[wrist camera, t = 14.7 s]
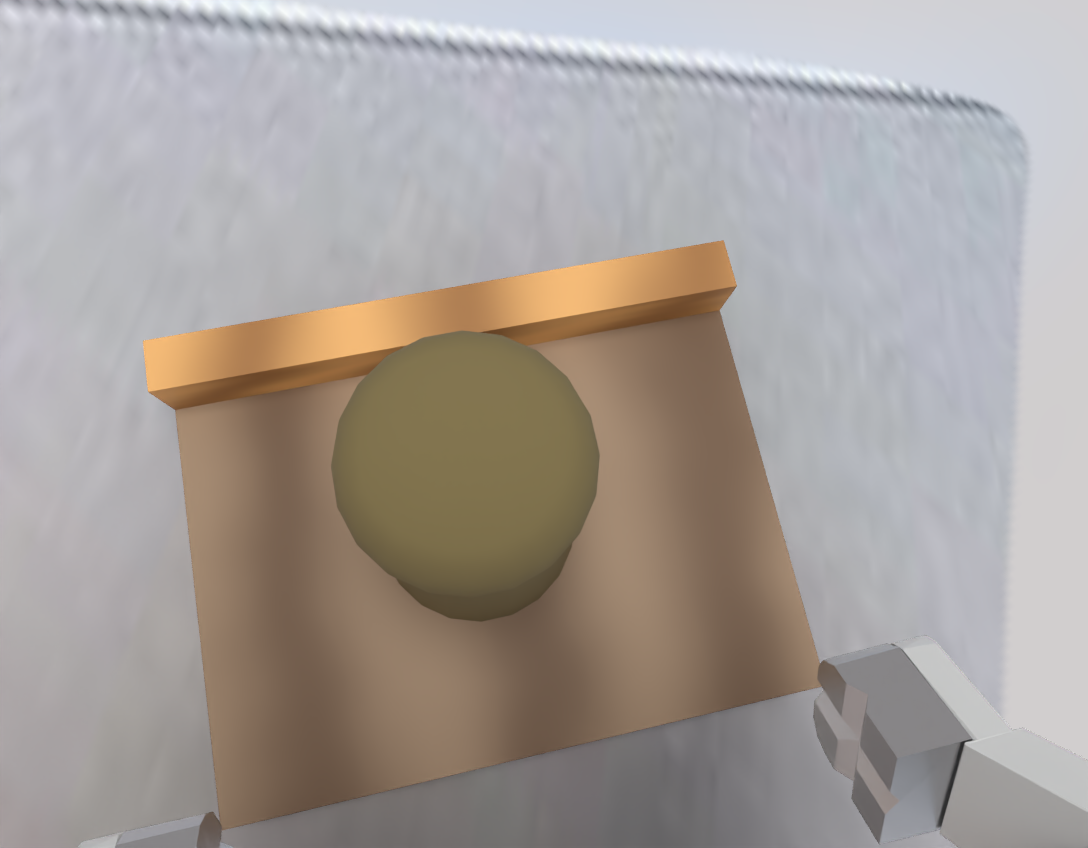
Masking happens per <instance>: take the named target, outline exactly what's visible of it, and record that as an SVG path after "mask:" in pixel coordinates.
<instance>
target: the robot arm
mask: <svg viewBox="0 0 1088 848" xmlns="http://www.w3.org/2000/svg"><path fill="white" fill-rule="evenodd" d="M817 680H818V681H819V683H820V684H821V686H822V688H823V689H824V690H823V691H822V692H821V694H820V695H819V696H818V697H817V698H816V699H815V701H814V715H813V718H814V722H815V727H816V731H817V736H818V739H819V741H820V743H821V746H822V748H823V750H824V753H825V754H826V756H827V758H828V760H829V761H830V763H831V765H832V767H833V768H834V769H835V770H836V771H838V772H840V773H841V774H843V775H844V776H846V777H848V778H849V779H851V780H853V790H852V800H853V802H854V804H855V805H856V807H857V809H858V810H859V812H860V814H861V815H862V817H863V819H864V820H865V822H866V824H867V825H868V827H869V829H870V830H871V832H872V834H873V835H874V837H875V839H876V840H877V842H878V844H879V845H880V844H884V843H888V842H892V841H896V840H900V839H904V838H909V837H913V836H917V835H921V834H925V833H929V832H933V831H937V830H940V834H941V835H942V836H944V837H945V838H946V839H948V840H949V841H950V842H952V843H953V844H955V845H956V846H957V847H959V848H1088V760H1087V759H1085V758H1082V757H1081V756H1078V755H1076V754H1075V753H1072V752H1071V751H1069V750H1067V749H1065V748H1063V747H1061V746H1058V745H1057V744H1055V743H1053V742H1051V741H1049V740H1047V739H1045V738H1043V737H1041V736H1039V735H1037V734H1035V733H1033V732H1031V731H1029V730H1027V729H1025V728H1019V729H1014V730H1012V729H1011V728H1010V726H1009V725H1008V724H1007V723H1006V722H1005V721H1004V719H1003V718H1002V717H1001V716H1000V715H999V714H998V713H997V711H996V710H995V709H994V708H993V707H992V706H991V704H990V703H989V702H988V701H987V700H986V699H985V698H984V696H983V695H982V694H981V693H980V692H979V691H978V689H977V688H976V687H975V686H974V685H973V684H972V683H971V681H970V680H969V679H968V678H967V677H966V676H965V675H964V673H963V672H962V671H961V670H960V669H959V668H958V666H957V665H956V664H955V663H954V662H953V661H952V660H951V658H950V657H949V656H948V655H947V654H946V653H945V651H944V650H943V649H942V648H941V647H940V646H939V645H938V643H937V642H936V641H935V640H934V639H932V638H930V637H928V636H927V635H924V636H918V637H914V638H910V639H907V640H903V641H899V642H895V643H892V644H887V643H886V644H883V645H879V646H875V647H871V648H867V649H864V650H860V651H856V652H852V653H848V654H845V655H841V656H837V657H833V658H830V659H826V660H823V661H822V663H821V664H820V665H819V668H818V675H817ZM221 832H222V825H221V824H220V822H219V820H218V819H217V817H216V816H215V814H214V812H209V813H205V814H200V815H196V816H191V817H187V818H182V819H178V820H174V821H169V822H165V823H160V824H156V825H151V826H147V827H143V828H138V829H134V830H129V831H124V832H120V833H115V834H111V835H107V836H103V837H99V838H95V839H91V840H87V841H82V842H81V844H80V845H79V847H78V848H234V847H232V846H230V845H227V844H225V843H222V842H220V839H221Z"/></svg>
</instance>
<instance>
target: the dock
mask: <svg viewBox="0 0 1088 848" xmlns="http://www.w3.org/2000/svg"><path fill="white" fill-rule="evenodd" d="M736 286H737V285H736V281H735V278H734V274H733V271H732V267H731V264H730V261H729V257H728V254H727V250H726V247H725V243H724V240H723V241H717V242H711V243H705V244H700V245H694V246H688V247H682V248H676V249H671V250H665V251H659V252H653V253H648V254H642V255H636V256H630V257H624V258H619V259H613V260H607V261H601V262H596V263H590V264H584V265H578V266H572V267H567V268H561V269H555V270H549V271H543V272H538V273H532V274H526V275H520V276H515V277H509V278H503V279H497V280H491V281H486V282H480V283H474V284H468V285H463V286H457V287H451V288H445V289H439V290H434V291H428V292H422V293H416V294H411V295H405V296H399V297H393V298H387V299H382V300H376V301H370V302H364V303H359V304H353V305H347V306H341V307H335V308H330V309H324V310H318V311H312V312H307V313H301V314H295V315H289V316H283V317H278V318H272V319H266V320H260V321H255V322H249V323H243V324H237V325H231V326H226V327H220V328H214V329H208V330H203V331H197V332H191V333H185V334H179V335H174V336H168V337H162V338H156V339H151V340H145V341H143V346H144V356H145V366H146V376H147V386H148V392H149V393H151V394H152V395H154V396H155V397H157V398H158V399H160V400H161V401H163V402H164V403H166V404H167V405H169V406H170V407H172V408H173V409H175V412H176V421H177V430H178V439H179V449H180V458H181V467H182V476H183V485H184V495H185V504H186V513H187V522H188V532H189V541H190V550H191V559H192V568H193V578H194V587H195V596H196V605H197V614H198V624H199V633H200V642H201V651H202V660H203V670H204V679H205V688H206V697H207V706H208V716H209V725H210V734H211V743H212V752H213V762H214V771H215V780H216V789H217V798H218V808H219V817H220V824H221V825H222V830H226V829H230V828H234V827H238V826H243V825H247V824H251V823H255V822H259V821H263V820H268V819H272V818H276V817H280V816H284V815H288V814H293V813H297V812H301V811H305V810H309V809H313V808H318V807H322V806H326V805H330V804H334V803H338V802H343V801H347V800H351V799H355V798H359V797H363V796H368V795H372V794H376V793H380V792H384V791H388V790H393V789H397V788H401V787H405V786H409V785H413V784H418V783H422V782H426V781H430V780H434V779H438V778H443V777H447V776H451V775H455V774H459V773H463V772H468V771H472V770H476V769H480V768H484V767H488V766H493V765H497V764H501V763H505V762H509V761H513V760H517V759H522V758H526V757H530V756H534V755H538V754H542V753H547V752H551V751H555V750H559V749H563V748H567V747H572V746H576V745H580V744H584V743H588V742H592V741H597V740H601V739H605V738H609V737H613V736H617V735H622V734H626V733H630V732H634V731H638V730H642V729H647V728H651V727H655V726H659V725H663V724H667V723H672V722H676V721H680V720H684V719H688V718H692V717H697V716H701V715H705V714H709V713H713V712H717V711H722V710H726V709H730V708H734V707H738V706H742V705H747V704H751V703H755V702H759V701H763V700H767V699H772V698H776V697H780V696H784V695H788V694H792V693H797V692H801V691H805V690H809V689H813V688H817V687H822V686H821V684H820V683H819V681H818V680H817V675H818V668H819V665H820V663H819V659H818V656H817V652H816V649H815V645H814V642H813V638H812V634H811V631H810V627H809V624H808V620H807V617H806V613H805V610H804V606H803V603H802V599H801V596H800V592H799V589H798V585H797V582H796V578H795V575H794V571H793V568H792V564H791V561H790V557H789V553H788V550H787V546H786V543H785V539H784V536H783V532H782V529H781V525H780V522H779V518H778V515H777V511H776V508H775V504H774V501H773V497H772V494H771V490H770V487H769V483H768V480H767V476H766V472H765V469H764V465H763V462H762V458H761V455H760V451H759V448H758V444H757V441H756V437H755V434H754V430H753V427H752V423H751V420H750V416H749V413H748V409H747V406H746V402H745V399H744V395H743V391H742V388H741V384H740V381H739V377H738V374H737V370H736V367H735V363H734V360H733V356H732V353H731V349H730V346H729V342H728V339H727V335H726V332H725V328H724V325H723V321H722V318H721V314H720V309H721V308H722V306H723V305H724V303H725V302H726V301H727V299H728V298H729V296H730V295H731V294H732V292H733V291H734V289H735V288H736ZM461 330H463V331H471V332H480V333H488V334H497V335H503V336H505V337H507V338H509V339H512V340H514V341H516V342H518V343H521V344H523V345H525V346H528V347H530V348H532V349H534V350H537V351H538V352H539V353H541V354H542V355H543V356H544V357H545V358H546V359H547V360H549V361H550V362H551V363H552V364H553V365H554V366H556V367H557V368H558V369H559V370H560V371H561V372H562V373H564V374H565V375H566V376H567V377H568V379H569V380H570V382H571V384H572V385H573V387H574V389H575V390H576V392H577V394H578V395H579V397H580V399H581V400H582V402H583V403H584V405H585V407H586V408H587V410H588V412H589V413H590V415H591V419H592V423H593V427H594V432H595V436H596V440H597V444H598V449H599V453H600V459H599V471H598V483H597V494H596V497H595V500H594V502H593V504H592V507H591V509H590V511H589V514H588V516H587V518H586V521H585V523H584V525H583V528H582V530H581V532H580V534H579V535H578V537H577V538H576V539H575V540H574V541H573V542H572V548H571V550H570V552H569V555H568V557H567V559H566V562H565V564H564V566H563V569H562V571H561V573H560V576H559V577H558V578H557V579H556V580H555V581H554V582H553V584H552V585H551V586H550V587H549V588H548V589H547V590H546V592H545V593H544V594H543V595H542V596H541V597H540V598H539V599H538V600H536V601H535V602H533V603H531V604H530V605H528V606H526V607H525V608H523V609H521V610H520V611H518V612H516V613H514V614H513V615H509V616H505V617H500V618H496V619H491V620H487V621H482V622H480V621H470V620H461V619H451V618H448V617H446V616H444V615H442V614H440V613H437V612H435V611H433V610H431V609H429V608H426V607H424V606H422V605H421V604H420V603H419V602H418V601H417V600H416V599H414V598H413V597H412V596H411V595H410V594H409V593H408V592H407V591H406V590H405V589H404V588H403V587H402V586H401V585H400V584H399V583H398V581H397V579H396V578H395V577H393V576H391V575H389V574H387V573H386V572H385V571H384V570H383V569H382V568H381V567H380V566H379V565H378V564H377V563H376V562H375V561H374V560H372V559H371V558H370V557H369V556H368V555H367V554H366V553H365V552H364V551H363V550H362V549H361V548H360V547H359V546H358V545H357V544H356V542H355V540H354V538H353V536H352V535H351V533H350V531H349V529H348V527H347V525H346V523H345V521H344V519H343V517H342V515H341V514H340V512H339V510H338V508H337V503H336V496H335V490H334V483H333V477H332V470H331V462H332V456H333V450H334V445H335V439H336V433H337V427H338V422H339V419H340V417H341V415H342V413H343V411H344V409H345V408H346V406H347V404H348V402H349V400H350V398H351V396H352V394H353V392H354V391H355V389H356V387H357V385H358V383H360V382H361V381H362V380H363V379H364V378H365V377H366V376H367V375H368V374H369V373H370V372H371V371H372V370H373V369H374V368H375V367H376V366H377V365H378V364H379V363H380V362H381V361H382V360H383V359H384V358H385V357H386V356H387V355H389V354H391V353H393V352H395V351H397V350H399V349H401V348H403V347H405V346H407V345H409V344H411V343H413V342H415V341H417V340H419V339H421V338H423V337H428V336H434V335H439V334H445V333H450V332H456V331H461Z"/></svg>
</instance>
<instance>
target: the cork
mask: <svg viewBox="0 0 1088 848" xmlns="http://www.w3.org/2000/svg"><path fill="white" fill-rule="evenodd" d="M599 459H600V453H599V449H598V444H597V440H596V436H595V432H594V427H593V423H592V419H591V415H590V413H589V412H588V410H587V408H586V407H585V405H584V403H583V402H582V400H581V399H580V397H579V395H578V394H577V392H576V390H575V389H574V387H573V385H572V384H571V382H570V380H569V379H568V377H567V376H566V375H565V374H564V373H562V372H561V371H560V370H559V369H558V368H557V367H556V366H554V365H553V364H552V363H551V362H550V361H549V360H547V359H546V358H545V357H544V356H543V355H542V354H541V353H539V352H538V351H537V350H534V349H532V348H530V347H528V346H525V345H523V344H521V343H518V342H516V341H514V340H512V339H509V338H507V337H505V336H503V335H497V334H488V333H480V332H471V331H463V330H461V331H456V332H450V333H445V334H439V335H434V336H428V337H423V338H421V339H419V340H417V341H415V342H413V343H411V344H409V345H407V346H405V347H403V348H401V349H399V350H397V351H395V352H393V353H391V354H389V355H387V356H386V357H385V358H384V359H383V360H382V361H381V362H380V363H379V364H378V365H377V366H376V367H375V368H374V369H373V370H372V371H371V372H370V373H369V374H368V375H367V376H366V377H365V378H364V379H363V380H362V381H361V382H360V383H358V385H357V387H356V389H355V391H354V392H353V394H352V396H351V398H350V400H349V402H348V404H347V406H346V408H345V409H344V411H343V413H342V415H341V417H340V419H339V422H338V427H337V433H336V439H335V445H334V450H333V456H332V462H331V470H332V477H333V483H334V490H335V496H336V503H337V508H338V510H339V512H340V514H341V515H342V517H343V519H344V521H345V523H346V525H347V527H348V529H349V531H350V533H351V535H352V536H353V538H354V540H355V542H356V544H357V545H358V546H359V547H360V548H361V549H362V550H363V551H364V552H365V553H366V554H367V555H368V556H369V557H370V558H371V559H372V560H374V561H375V562H376V563H377V564H378V565H379V566H380V567H381V568H382V569H383V570H384V571H385V572H386V573H387V574H389V575H391V576H393V577H395V578H396V579H397V581H398V583H399V584H400V585H401V586H402V587H403V588H404V589H405V590H406V591H407V592H408V593H409V594H410V595H411V596H412V597H413V598H414V599H416V600H417V601H418V602H419V603H420V604H421V605H422V606H424V607H426V608H429V609H431V610H433V611H435V612H437V613H440V614H442V615H444V616H446V617H448V618H451V619H461V620H470V621H480V622H482V621H487V620H491V619H496V618H500V617H505V616H509V615H513V614H514V613H516V612H518V611H520V610H521V609H523V608H525V607H526V606H528V605H530V604H531V603H533V602H535V601H536V600H538V599H539V598H540V597H541V596H542V595H543V594H544V593H545V592H546V590H547V589H548V588H549V587H550V586H551V585H552V584H553V582H554V581H555V580H556V579H557V578H558V577H559V576H560V573H561V571H562V569H563V566H564V564H565V562H566V559H567V557H568V555H569V552H570V550H571V548H572V542H573V541H574V540H575V539H576V538H577V537H578V535H579V534H580V532H581V530H582V528H583V525H584V523H585V521H586V518H587V516H588V514H589V511H590V509H591V507H592V504H593V502H594V500H595V497H596V494H597V483H598V471H599Z"/></svg>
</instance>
